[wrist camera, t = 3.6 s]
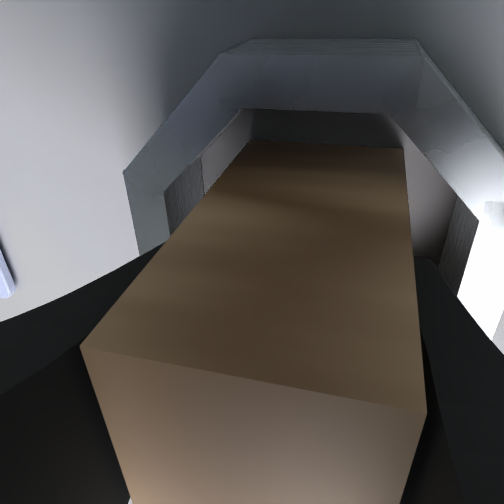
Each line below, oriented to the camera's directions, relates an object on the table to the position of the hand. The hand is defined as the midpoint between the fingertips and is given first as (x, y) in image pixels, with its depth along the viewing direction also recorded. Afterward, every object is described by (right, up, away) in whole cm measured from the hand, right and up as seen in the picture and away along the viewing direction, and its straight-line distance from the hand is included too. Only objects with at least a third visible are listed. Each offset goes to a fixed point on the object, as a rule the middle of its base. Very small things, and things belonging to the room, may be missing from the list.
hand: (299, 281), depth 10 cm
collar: (+1, +2, +3) cm, 3 cm away
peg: (+1, +2, +3) cm, 3 cm away
